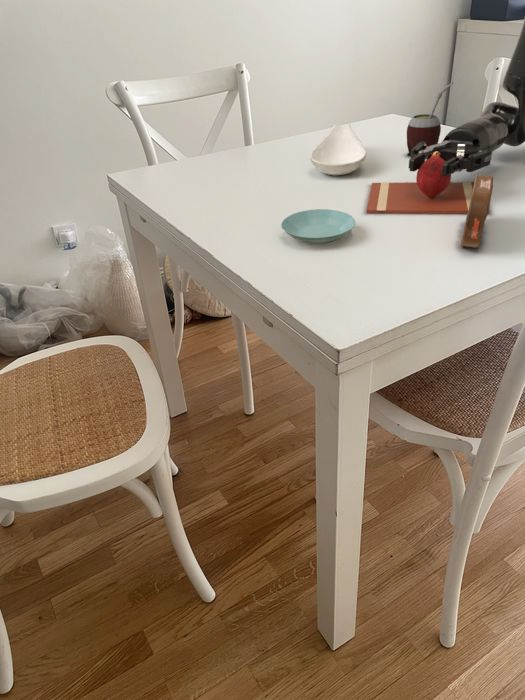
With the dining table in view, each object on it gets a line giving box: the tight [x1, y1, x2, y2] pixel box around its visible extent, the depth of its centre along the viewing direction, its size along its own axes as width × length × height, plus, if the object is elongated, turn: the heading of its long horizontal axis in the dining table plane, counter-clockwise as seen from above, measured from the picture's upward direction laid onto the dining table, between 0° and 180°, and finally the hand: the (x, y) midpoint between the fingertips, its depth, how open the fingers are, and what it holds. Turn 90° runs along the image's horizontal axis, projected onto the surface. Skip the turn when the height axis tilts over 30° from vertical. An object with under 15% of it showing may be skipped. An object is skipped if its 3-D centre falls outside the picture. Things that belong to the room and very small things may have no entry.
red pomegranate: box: [415, 151, 452, 198], centre depth 94 cm, size 6×6×8 cm
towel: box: [365, 181, 490, 215], centre depth 97 cm, size 20×15×1 cm
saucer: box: [280, 208, 356, 244], centre depth 87 cm, size 12×12×2 cm
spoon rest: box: [309, 123, 367, 177], centre depth 118 cm, size 24×12×7 cm, turn 170°
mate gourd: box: [406, 81, 454, 160], centre depth 116 cm, size 8×8×15 cm
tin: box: [460, 173, 494, 249], centre depth 80 cm, size 15×3×8 cm, turn 159°
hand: (428, 167), depth 91 cm, fingers closed on red pomegranate, 5 cm apart
